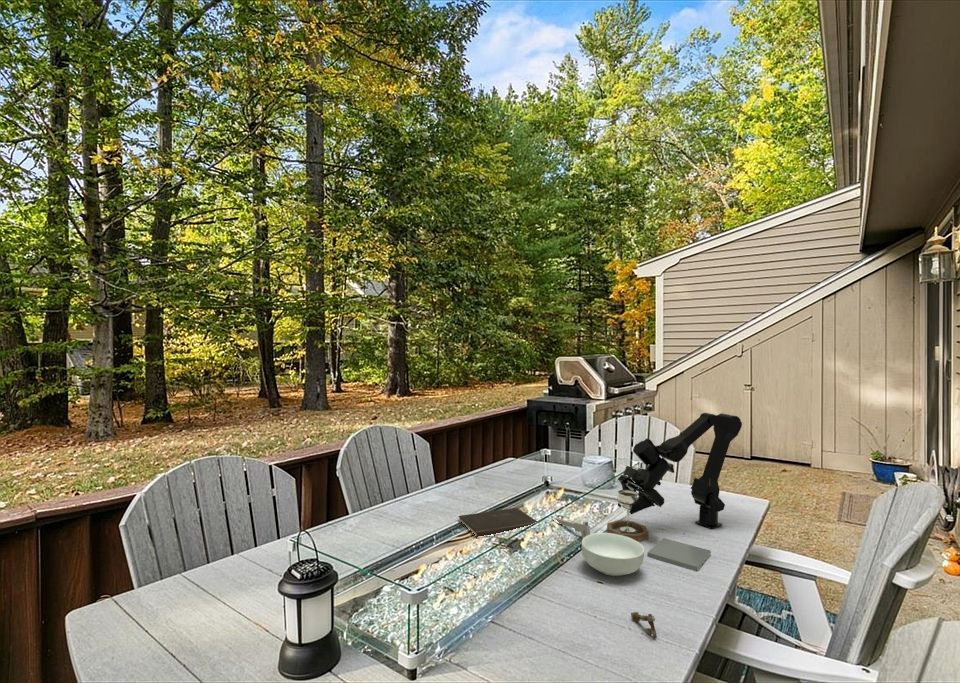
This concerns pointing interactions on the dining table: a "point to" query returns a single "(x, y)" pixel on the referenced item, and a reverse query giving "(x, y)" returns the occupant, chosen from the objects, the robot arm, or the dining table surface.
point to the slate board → (679, 554)
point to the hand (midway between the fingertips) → (624, 509)
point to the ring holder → (636, 526)
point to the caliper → (576, 526)
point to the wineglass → (627, 505)
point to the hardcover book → (496, 521)
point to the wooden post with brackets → (648, 618)
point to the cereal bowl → (612, 553)
